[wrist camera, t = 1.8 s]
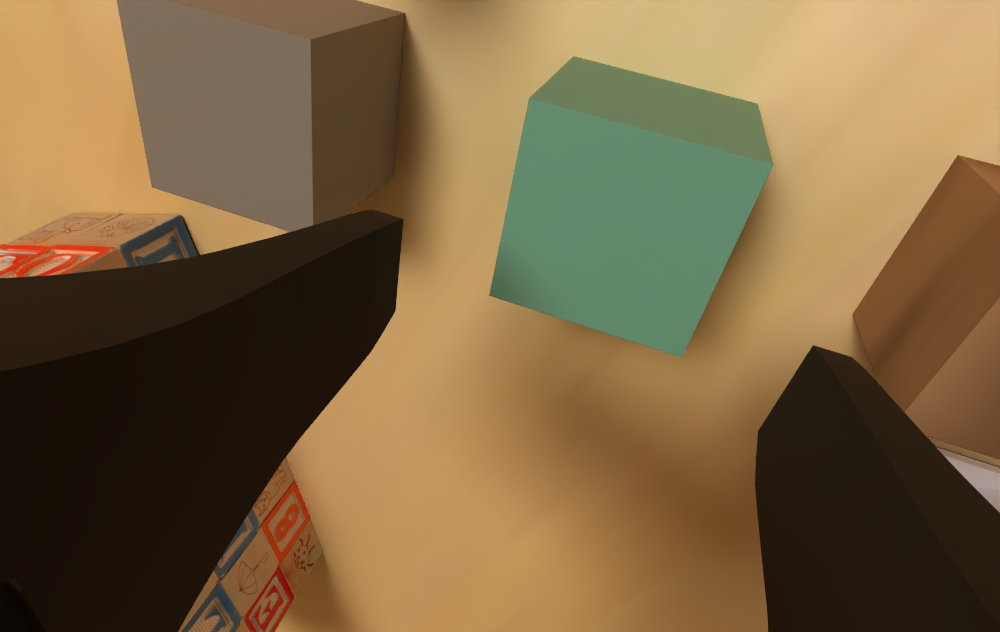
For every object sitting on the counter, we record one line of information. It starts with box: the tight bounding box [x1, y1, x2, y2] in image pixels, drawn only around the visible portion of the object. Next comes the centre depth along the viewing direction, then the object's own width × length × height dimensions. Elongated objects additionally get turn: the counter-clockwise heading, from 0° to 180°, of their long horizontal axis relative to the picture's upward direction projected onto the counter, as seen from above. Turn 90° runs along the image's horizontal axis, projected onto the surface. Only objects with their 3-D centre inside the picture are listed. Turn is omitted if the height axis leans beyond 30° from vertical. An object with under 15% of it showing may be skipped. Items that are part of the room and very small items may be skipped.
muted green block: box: [489, 57, 773, 357], centre depth 15 cm, size 5×5×5 cm
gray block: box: [117, 0, 405, 232], centre depth 17 cm, size 5×5×5 cm
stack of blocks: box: [0, 213, 323, 632], centre depth 25 cm, size 21×6×12 cm, turn 7°
